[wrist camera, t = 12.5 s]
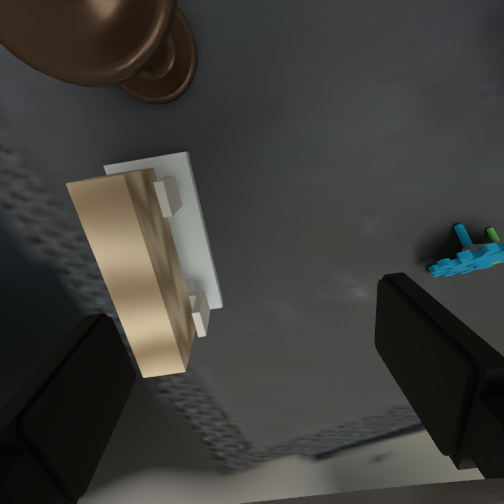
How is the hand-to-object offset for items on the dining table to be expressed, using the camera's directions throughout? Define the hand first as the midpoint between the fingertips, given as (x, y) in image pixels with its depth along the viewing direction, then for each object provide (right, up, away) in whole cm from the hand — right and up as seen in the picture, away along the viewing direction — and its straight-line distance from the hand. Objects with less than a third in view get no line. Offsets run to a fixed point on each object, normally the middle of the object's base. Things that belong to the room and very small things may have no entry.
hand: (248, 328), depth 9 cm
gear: (+28, +3, +27) cm, 39 cm away
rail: (-10, +2, +19) cm, 21 cm away
